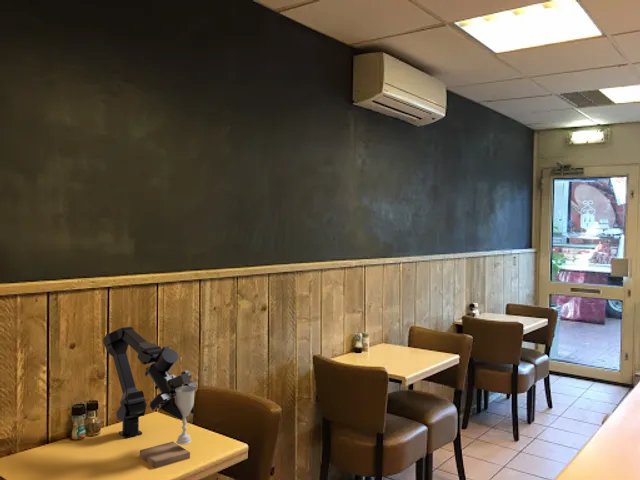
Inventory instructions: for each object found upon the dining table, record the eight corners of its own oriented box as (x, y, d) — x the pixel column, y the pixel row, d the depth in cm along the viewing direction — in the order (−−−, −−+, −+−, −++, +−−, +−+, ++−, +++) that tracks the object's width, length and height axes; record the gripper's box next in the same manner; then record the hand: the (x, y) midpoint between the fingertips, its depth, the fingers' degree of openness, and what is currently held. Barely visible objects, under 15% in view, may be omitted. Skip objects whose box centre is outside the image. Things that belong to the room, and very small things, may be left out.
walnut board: (139, 456, 182) (139, 450, 182) (172, 447, 191) (172, 441, 191) (155, 468, 174) (156, 461, 174) (189, 458, 182) (190, 452, 182)
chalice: (189, 446, 181) (190, 393, 181) (169, 444, 183) (171, 391, 182) (197, 438, 189) (199, 386, 188) (179, 436, 190) (180, 385, 189)
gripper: (157, 370, 178) (184, 410, 174) (193, 358, 195) (218, 394, 191) (138, 390, 181) (164, 429, 177) (174, 377, 198) (199, 412, 194)
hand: (187, 415), depth 185 cm, fingers closed on chalice, 6 cm apart
